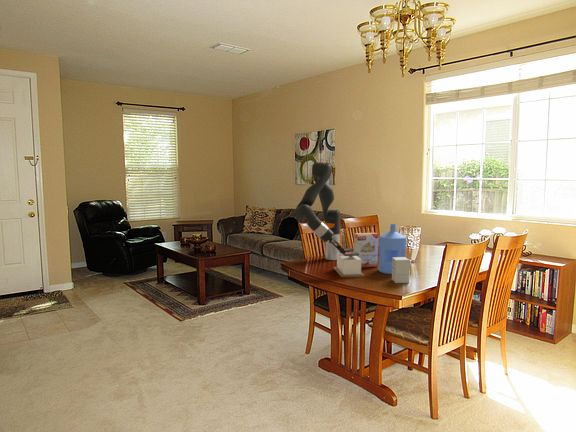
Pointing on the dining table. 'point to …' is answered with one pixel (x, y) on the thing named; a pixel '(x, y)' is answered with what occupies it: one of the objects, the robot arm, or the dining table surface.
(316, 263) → the dining table surface
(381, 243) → the water jug
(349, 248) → the block
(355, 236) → the cracker box
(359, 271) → the switch panel
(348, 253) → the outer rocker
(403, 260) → the supplement box
